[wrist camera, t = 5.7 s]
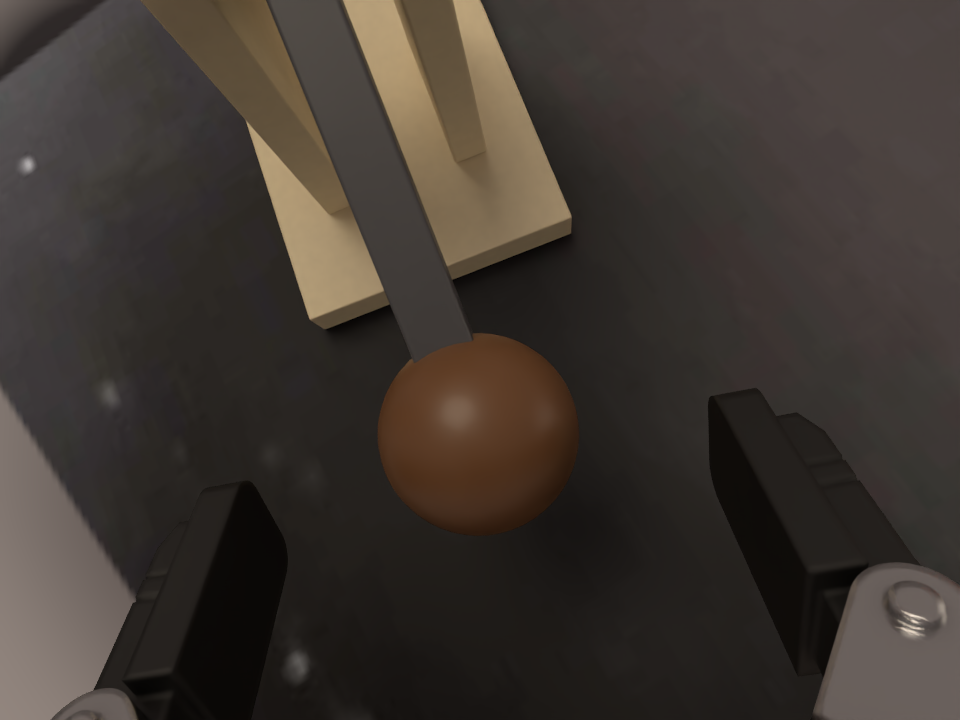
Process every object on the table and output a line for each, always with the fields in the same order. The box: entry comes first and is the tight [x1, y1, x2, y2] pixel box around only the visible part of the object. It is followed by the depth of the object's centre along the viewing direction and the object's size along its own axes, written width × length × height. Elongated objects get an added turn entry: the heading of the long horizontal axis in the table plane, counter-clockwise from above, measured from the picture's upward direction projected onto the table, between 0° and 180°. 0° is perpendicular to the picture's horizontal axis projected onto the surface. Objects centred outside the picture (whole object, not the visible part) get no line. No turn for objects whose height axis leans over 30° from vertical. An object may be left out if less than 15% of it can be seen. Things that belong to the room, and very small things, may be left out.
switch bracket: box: [140, 0, 572, 329], centre depth 15 cm, size 10×8×13 cm
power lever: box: [266, 0, 579, 536], centre depth 11 cm, size 14×4×4 cm, turn 20°
